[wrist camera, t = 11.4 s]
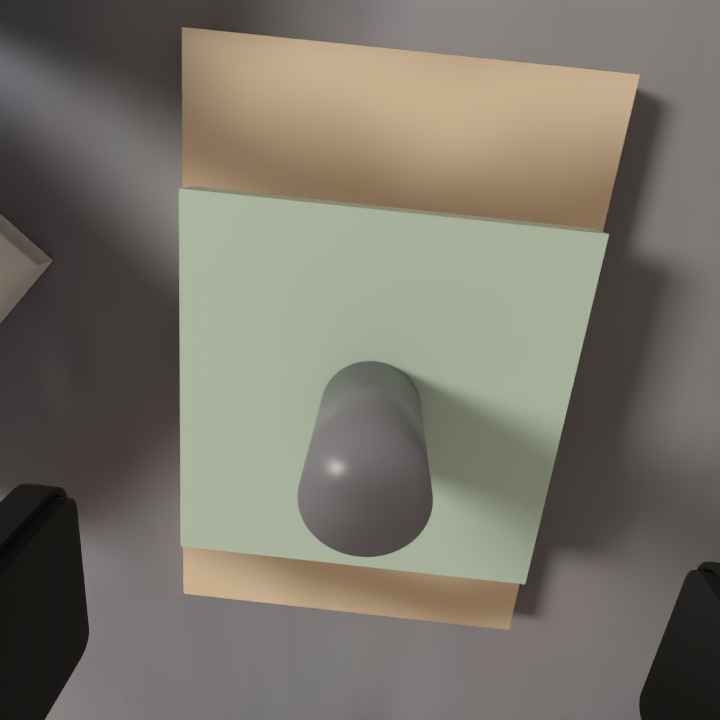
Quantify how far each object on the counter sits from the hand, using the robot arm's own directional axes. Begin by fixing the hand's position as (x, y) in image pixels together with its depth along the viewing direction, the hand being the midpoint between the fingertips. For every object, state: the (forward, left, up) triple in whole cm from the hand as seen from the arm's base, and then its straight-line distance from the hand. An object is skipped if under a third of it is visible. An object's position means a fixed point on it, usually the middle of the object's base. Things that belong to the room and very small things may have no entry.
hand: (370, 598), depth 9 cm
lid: (+1, 0, -11) cm, 11 cm away
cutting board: (+1, 0, -13) cm, 13 cm away
